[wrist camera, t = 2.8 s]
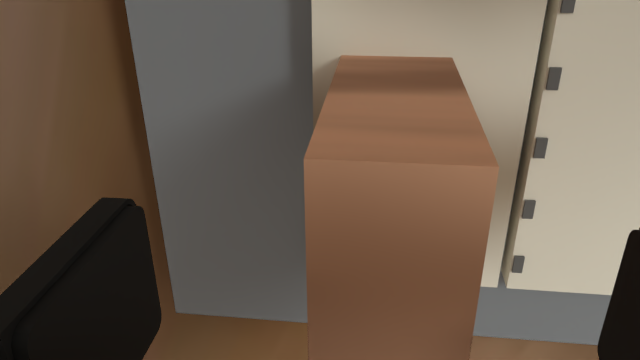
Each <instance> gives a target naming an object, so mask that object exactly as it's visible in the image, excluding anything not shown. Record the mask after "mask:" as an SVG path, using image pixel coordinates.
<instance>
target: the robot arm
mask: <svg viewBox="0 0 640 360" xmlns="http://www.w3.org/2000/svg"><path fill="white" fill-rule="evenodd" d="M160 323H161V308H160V302H159V296H158V290H157V284H156V278H155V272H154V267H153V261H152V255H151V249H150V243H149V237H148V231H147V225H146V219H145V214H144V210H143V208H142V207H140V206H136V204H135V202H134V201H133V200H132V199H124V198H101V199H100V200H99V201H98V202H96V203H95V204H94V205H93V206H92V207H91V208H90V209H89V210H88V211H87V212H86V213H85V214H84V215H83V216H82V217H81V218H80V219H79V220H78V221H77V222H76V223H75V224H74V225H73V226H72V227H71V228H70V229H68V230H67V231H66V232H65V233H64V234H63V235H62V236H61V237H60V238H59V239H58V240H57V241H56V242H55V243H54V244H53V245H52V246H51V247H50V248H49V249H48V250H47V251H46V252H45V253H44V254H43V255H41V256H40V257H39V258H38V259H37V260H36V261H35V262H34V263H33V264H32V265H31V266H30V267H29V268H28V269H27V270H26V271H25V272H24V273H23V274H22V275H21V276H20V277H19V278H18V279H17V280H16V281H15V282H13V283H12V284H11V285H10V286H9V287H8V288H7V289H6V290H5V291H4V292H3V293H2V294H1V295H0V360H142V359H143V357H144V355H145V353H146V352H147V350H148V348H149V346H150V344H151V343H152V341H153V339H154V337H155V336H156V334H157V332H158V330H159V327H160ZM598 356H599V360H640V228H639V230H632V231H631V232H630V234H629V236H628V239H627V243H626V246H625V250H624V253H623V257H622V260H621V264H620V267H619V271H618V274H617V278H616V281H615V285H614V288H613V292H612V295H611V299H610V302H609V306H608V309H607V313H606V316H605V320H604V323H603V327H602V330H601V334H600V337H599V341H598Z"/></svg>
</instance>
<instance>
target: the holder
mask: <svg viewBox="0 0 640 360" xmlns="http://www.w3.org/2000/svg"><path fill="white" fill-rule="evenodd" d="M125 5H126V11H127V17H128V23H129V30H130V36H131V42H132V48H133V54H134V60H135V66H136V72H137V78H138V84H139V90H140V97H141V103H142V109H143V115H144V121H145V127H146V133H147V139H148V145H149V151H150V158H151V164H152V170H153V176H154V182H155V188H156V194H157V200H158V206H159V212H160V218H161V225H162V231H163V237H164V243H165V249H166V255H167V261H168V267H169V273H170V279H171V286H172V292H173V298H174V304H175V310H176V313H186V314H199V315H212V316H225V317H238V318H251V319H264V320H277V321H290V322H303V323H308V322H307V279H306V237H305V194H304V156H305V154H306V151H307V148H308V145H309V143H310V140H311V137H312V134H313V72H312V2H311V0H125ZM639 228H640V0H547V6H546V11H545V17H544V23H543V28H542V34H541V40H540V46H539V51H538V57H537V63H536V69H535V74H534V80H533V86H532V91H531V97H530V103H529V109H528V114H527V120H526V126H525V131H524V137H523V143H522V149H521V154H520V160H519V166H518V171H517V177H516V183H515V189H514V194H513V200H512V206H511V211H510V217H509V223H508V229H507V234H506V240H505V246H504V251H503V257H502V263H501V269H500V274H499V280H498V286H497V288H496V287H481V286H480V293H479V299H478V305H477V312H476V318H475V325H474V331H473V336H485V337H498V338H511V339H524V340H537V341H550V342H563V343H577V344H590V345H598V341H599V337H600V334H601V330H602V327H603V323H604V320H605V316H606V313H607V309H608V306H609V302H610V299H611V295H612V292H613V288H614V285H615V281H616V278H617V274H618V271H619V267H620V264H621V260H622V257H623V253H624V250H625V246H626V243H627V239H628V236H629V234H630V232H631V231H632V230H639Z"/></svg>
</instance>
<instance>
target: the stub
mask: <svg viewBox="0 0 640 360" xmlns="http://www.w3.org/2000/svg"><path fill="white" fill-rule="evenodd" d="M311 2H312V72H313V134H312V137H311V140H310V143H309V145H308V148H307V151H306V154H305V156H304V194H305V237H306V279H307V322H308V360H469V356H470V350H471V344H472V337H473V331H474V325H475V318H476V312H477V305H478V299H479V293H480V286H481V287H496V288H497V286H498V280H499V274H500V269H501V263H502V257H503V251H504V246H505V240H506V234H507V229H508V223H509V217H510V211H511V206H512V200H513V194H514V189H515V183H516V177H517V171H518V166H519V160H520V154H521V149H522V143H523V137H524V131H525V126H526V120H527V114H528V109H529V103H530V97H531V91H532V86H533V80H534V74H535V69H536V63H537V57H538V51H539V46H540V40H541V34H542V28H543V23H544V17H545V11H546V6H547V0H311Z"/></svg>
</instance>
